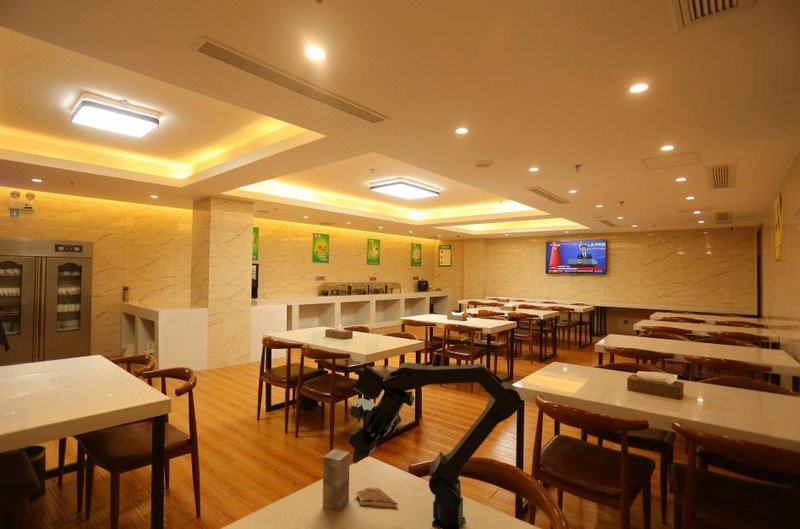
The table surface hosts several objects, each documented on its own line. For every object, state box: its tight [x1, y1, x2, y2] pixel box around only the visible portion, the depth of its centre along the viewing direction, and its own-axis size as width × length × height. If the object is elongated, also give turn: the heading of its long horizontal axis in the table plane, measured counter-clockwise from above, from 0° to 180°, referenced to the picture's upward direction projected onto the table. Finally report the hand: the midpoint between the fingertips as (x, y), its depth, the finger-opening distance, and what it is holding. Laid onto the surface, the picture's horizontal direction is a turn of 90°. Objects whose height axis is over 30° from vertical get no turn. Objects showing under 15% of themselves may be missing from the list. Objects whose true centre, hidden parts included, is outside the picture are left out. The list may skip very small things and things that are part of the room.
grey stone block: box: [322, 449, 350, 512], centre depth 104 cm, size 5×5×13 cm
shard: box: [355, 486, 399, 508], centre depth 105 cm, size 11×8×2 cm
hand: (363, 453), depth 104 cm, fingers open, 9 cm apart
